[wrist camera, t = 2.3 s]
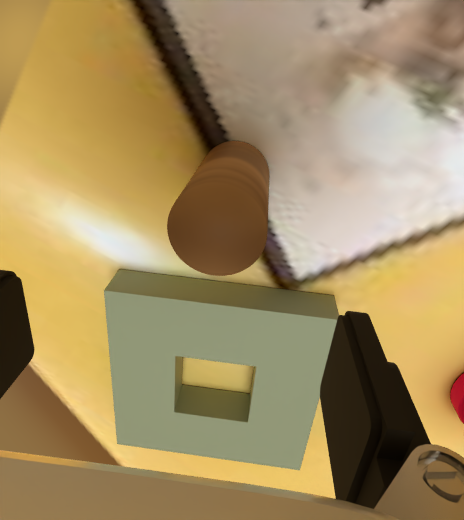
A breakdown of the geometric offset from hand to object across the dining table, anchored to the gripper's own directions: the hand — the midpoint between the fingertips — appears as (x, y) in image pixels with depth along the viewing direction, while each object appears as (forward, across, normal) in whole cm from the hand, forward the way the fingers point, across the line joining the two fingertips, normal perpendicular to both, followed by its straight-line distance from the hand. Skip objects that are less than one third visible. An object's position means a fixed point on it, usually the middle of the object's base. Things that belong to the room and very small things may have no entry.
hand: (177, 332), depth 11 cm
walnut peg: (+16, 0, -1) cm, 16 cm away
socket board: (+16, 0, +15) cm, 22 cm away
